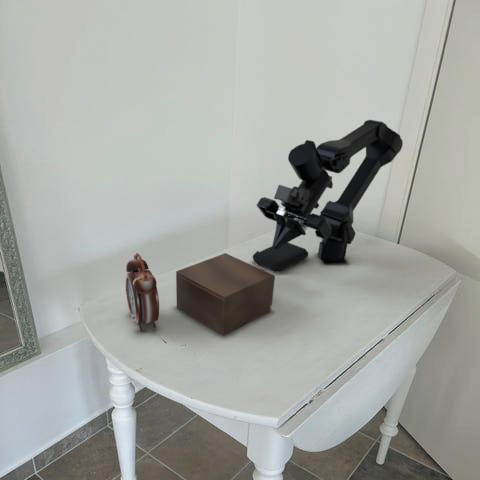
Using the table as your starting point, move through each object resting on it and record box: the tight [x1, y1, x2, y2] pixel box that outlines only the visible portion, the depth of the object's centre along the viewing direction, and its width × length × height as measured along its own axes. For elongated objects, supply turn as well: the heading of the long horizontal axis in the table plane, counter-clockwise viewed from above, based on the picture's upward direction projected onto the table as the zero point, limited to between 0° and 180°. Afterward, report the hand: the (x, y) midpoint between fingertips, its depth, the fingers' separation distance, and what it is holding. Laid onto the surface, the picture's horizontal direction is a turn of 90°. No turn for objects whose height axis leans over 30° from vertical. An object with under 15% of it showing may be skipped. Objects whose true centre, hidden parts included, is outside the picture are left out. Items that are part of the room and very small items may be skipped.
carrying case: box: [252, 242, 309, 273], centre depth 128 cm, size 11×3×15 cm
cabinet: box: [175, 252, 275, 337], centre depth 103 cm, size 15×15×9 cm
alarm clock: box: [124, 252, 160, 332], centre depth 96 cm, size 11×5×15 cm, turn 23°
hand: (274, 248), depth 110 cm, fingers closed
